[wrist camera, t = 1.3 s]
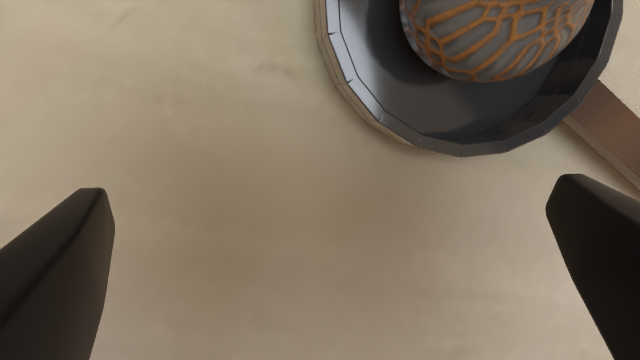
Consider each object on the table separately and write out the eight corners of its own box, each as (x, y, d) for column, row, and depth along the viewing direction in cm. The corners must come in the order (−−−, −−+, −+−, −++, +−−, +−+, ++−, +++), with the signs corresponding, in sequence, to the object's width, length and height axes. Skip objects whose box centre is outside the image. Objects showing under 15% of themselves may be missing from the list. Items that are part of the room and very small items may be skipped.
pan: (603, 88, 25) (654, 86, 22) (374, 189, 24) (392, 203, 21) (532, -182, 22) (578, -228, 19) (268, -78, 21) (272, -108, 18)
